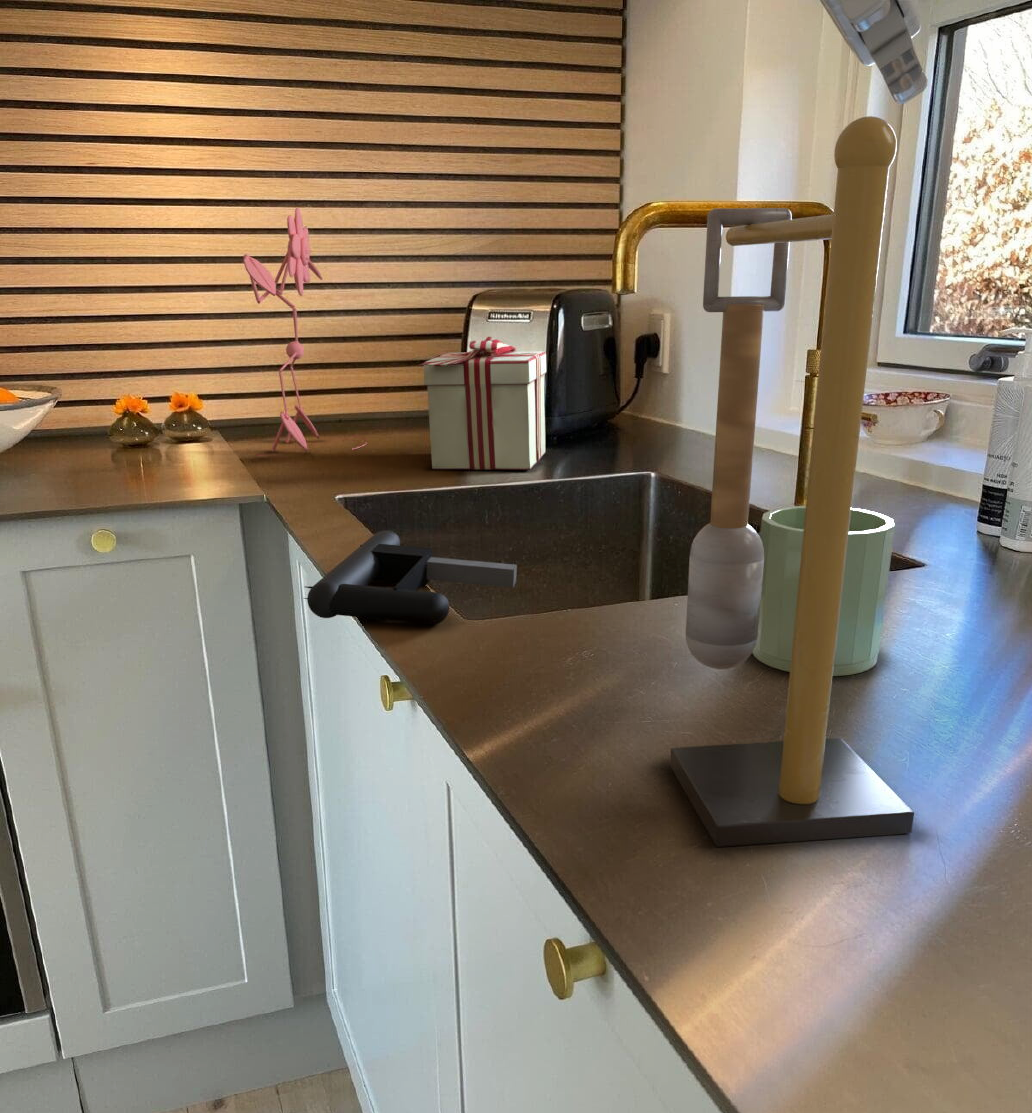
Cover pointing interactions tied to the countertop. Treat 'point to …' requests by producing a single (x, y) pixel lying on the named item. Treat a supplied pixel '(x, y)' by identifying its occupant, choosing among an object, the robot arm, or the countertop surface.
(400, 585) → the black frame with bar
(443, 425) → the gift box
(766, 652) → the crock
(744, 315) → the square loop wand
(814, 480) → the stand
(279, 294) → the figurine
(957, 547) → the countertop surface
